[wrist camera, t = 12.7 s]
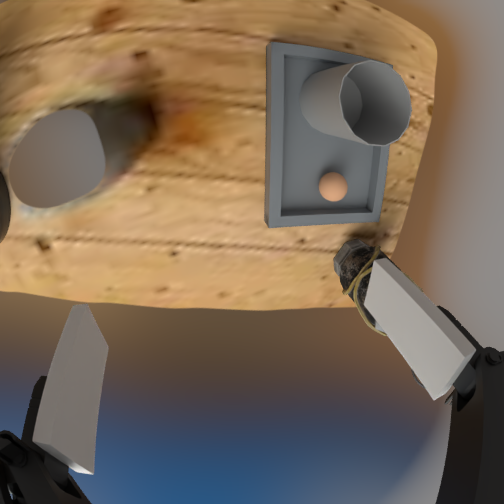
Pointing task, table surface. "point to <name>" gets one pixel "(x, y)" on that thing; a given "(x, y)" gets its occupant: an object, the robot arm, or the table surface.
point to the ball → (333, 186)
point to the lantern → (360, 277)
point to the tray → (313, 149)
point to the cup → (357, 103)
